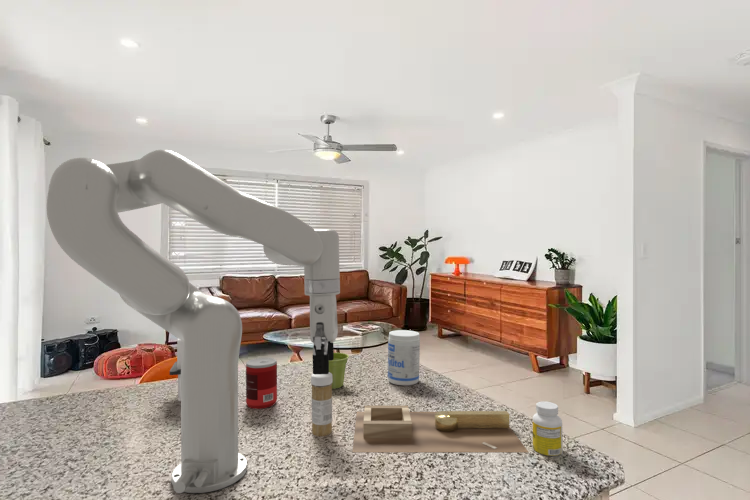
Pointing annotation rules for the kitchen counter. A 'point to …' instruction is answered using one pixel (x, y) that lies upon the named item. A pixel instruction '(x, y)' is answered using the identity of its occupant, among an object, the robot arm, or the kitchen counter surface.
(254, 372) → the canned food
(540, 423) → the supplement bottle
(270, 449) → the kitchen counter surface
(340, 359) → the plant pot
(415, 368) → the supplement tub
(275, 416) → the kitchen counter surface
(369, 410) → the socket
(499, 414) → the lever
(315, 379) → the spice jar
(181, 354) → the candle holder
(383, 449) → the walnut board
